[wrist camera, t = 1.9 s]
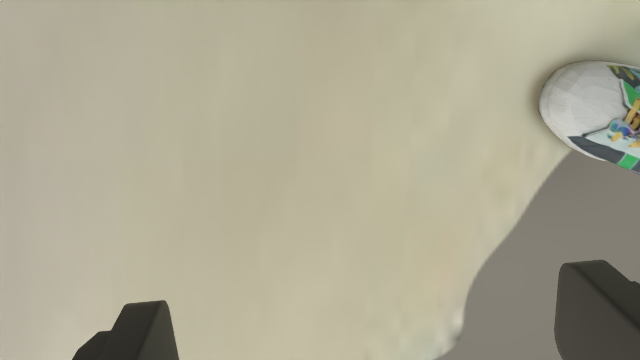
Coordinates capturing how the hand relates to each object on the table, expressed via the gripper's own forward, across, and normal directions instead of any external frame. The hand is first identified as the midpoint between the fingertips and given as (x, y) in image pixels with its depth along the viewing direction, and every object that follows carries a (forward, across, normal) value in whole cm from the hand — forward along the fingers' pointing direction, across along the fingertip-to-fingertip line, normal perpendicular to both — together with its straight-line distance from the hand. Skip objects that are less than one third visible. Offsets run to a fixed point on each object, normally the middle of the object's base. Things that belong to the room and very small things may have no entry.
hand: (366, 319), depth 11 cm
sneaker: (+32, -27, +7) cm, 43 cm away
